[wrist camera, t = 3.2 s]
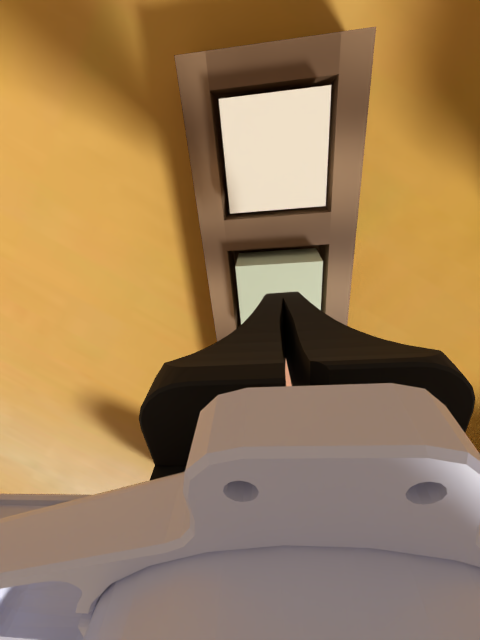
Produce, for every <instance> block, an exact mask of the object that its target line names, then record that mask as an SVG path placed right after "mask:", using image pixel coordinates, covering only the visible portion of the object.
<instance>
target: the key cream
mask: <svg viewBox="0 0 480 640" xmlns="http://www.w3.org/2000/svg"><path fill="white" fill-rule="evenodd" d="M330 102H331V85H327V86H319V87H311V88H303V89H295V90H287V91H279V92H271V93H262V94H254V95H246V96H238V97H230V98H222V99H219V108H220V118H221V128H222V138H223V148H224V158H225V168H226V178H227V188H228V198H229V208H230V214H232V213H244V212H257V211H269V210H281V209H294V208H306V207H319V206H326V187H327V166H328V145H329V124H330Z"/></svg>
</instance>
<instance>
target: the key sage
mask: <svg viewBox="0 0 480 640" xmlns="http://www.w3.org/2000/svg"><path fill="white" fill-rule="evenodd" d="M235 268H236V278H237V288H238V298H239V308H240V318H241V325H242V324H243V323H244V321H245V320H246V319H247V318H248V317H249V316H250V315H251V314H252V313H253V311H254V310H255V309H256V307H257V306H258V305H259V303H260V302H261V300H262V299H263V297H264V296H265V295H266V294H269V293H283V292H297V291H298V292H299V293H300V294H301V295H303V296H304V297H305V298H306V299H307V300H308V301H309V302H311V303H312V304H313V305H314V306H315V307H317V308H318V309H319V310H321V293H322V272H323V260H322V258H321V257H320V255H319V253H318V251H317V249H316V248H308V249H293V250H277V251H262V252H247V253H239V255H238V259H237V262H236V266H235Z"/></svg>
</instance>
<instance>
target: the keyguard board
mask: <svg viewBox="0 0 480 640" xmlns="http://www.w3.org/2000/svg"><path fill="white" fill-rule="evenodd" d="M375 33H376V27H370V28H363V29H356V30H349V31H342V32H335V33H328V34H321V35H314V36H307V37H300V38H293V39H286V40H279V41H272V42H265V43H258V44H251V45H244V46H237V47H230V48H223V49H216V50H209V51H201V52H194V53H187V54H180V55H174V57H175V63H176V70H177V77H178V83H179V90H180V97H181V103H182V110H183V117H184V123H185V130H186V137H187V144H188V150H189V157H190V164H191V170H192V177H193V184H194V190H195V197H196V204H197V210H198V217H199V224H200V231H201V237H202V244H203V251H204V257H205V264H206V271H207V277H208V284H209V291H210V297H211V304H212V311H213V318H214V324H215V331H216V338H217V342H218V341H219V340H221V339H223V338H224V337H226V336H228V335H229V334H230V333H232V332H233V331H234V330H236V329H237V328H238V327H239V326H240V325H241V318H240V308H239V298H238V288H237V278H236V268H235V266H236V262H237V259H238V255H239V253H247V252H262V251H277V250H293V249H308V248H316V249H317V251H318V253H319V255H320V257H321V258H322V260H323V272H322V293H321V311H322V312H324V313H325V314H327V315H328V316H330V317H331V318H333V319H335V320H337V321H338V322H340V323H342V324H344V325H346V326H347V320H348V310H349V300H350V290H351V279H352V269H353V259H354V249H355V238H356V228H357V218H358V207H359V197H360V187H361V177H362V166H363V156H364V146H365V136H366V125H367V115H368V105H369V94H370V84H371V74H372V64H373V53H374V43H375ZM327 85H331V102H330V124H329V145H328V166H327V187H326V206H319V207H306V208H294V209H281V210H269V211H257V212H244V213H232V214H230V208H229V198H228V188H227V178H226V168H225V158H224V148H223V138H222V128H221V118H220V108H219V99H222V98H230V97H238V96H246V95H254V94H262V93H271V92H279V91H287V90H295V89H303V88H311V87H319V86H327Z"/></svg>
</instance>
